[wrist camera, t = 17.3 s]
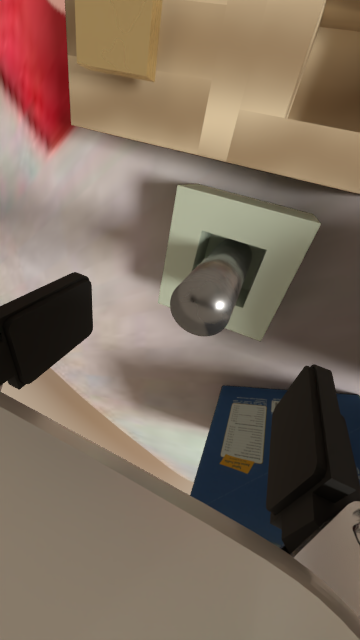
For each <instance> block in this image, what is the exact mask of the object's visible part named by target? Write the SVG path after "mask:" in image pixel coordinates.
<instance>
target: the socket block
mask: <svg viewBox="0 0 360 640" xmlns="http://www.w3.org/2000/svg"><path fill="white" fill-rule="evenodd" d="M65 11H66V31H67V51H68V71H69V91H70V111H71V125H74V126H78V127H82V128H86V129H90V130H94V131H98V132H102V133H106V134H110V135H114V136H118V137H122V138H127V139H131V140H135V141H139V142H143V143H147V144H152V145H156V146H160V147H164V148H168V149H172V150H177V151H181V152H185V153H189V154H193V155H197V156H202V157H206V158H210V159H214V160H218V161H222V162H227V163H231V164H235V165H239V166H243V167H247V168H252V169H256V170H260V171H264V172H268V173H272V174H277V175H281V176H285V177H289V178H293V179H297V180H302V181H306V182H310V183H314V184H318V185H322V186H327V187H331V188H335V189H339V190H343V191H347V192H352V193H356V194H360V0H163V2H162V12H161V22H160V32H159V43H158V53H157V63H156V73H155V82H150V81H145V80H140V79H134V78H129V77H123V76H118V75H113V74H107V73H102V72H96V71H91V70H88V69H86V68H84V67H82V66H80V65H79V64H77V52H76V23H75V0H65Z"/></svg>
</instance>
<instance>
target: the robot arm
mask: <svg viewBox="0 0 360 640" xmlns="http://www.w3.org/2000/svg"><path fill="white" fill-rule="evenodd" d="M92 330H93V318H92V288H91V282H90V281H89V278H88V277H87V276H84V275H82V274H79V273H76V272H74V273H71V274H69V275H67V276H65V277H62V278H60V279H58V280H56V281H54V282H52V283H49V284H47V285H45V286H43V287H41V288H39V289H36V290H34V291H32V292H30V293H28V294H26V295H24V296H21V297H19V298H17V299H15V300H13V301H11V302H8V303H6V304H4V305H2V306H0V640H360V483H359V478H358V474H357V469H356V465H355V461H354V456H353V452H352V447H351V443H350V438H349V434H348V429H347V425H346V421H345V418H344V417H343V416H342V415H341V414H340V409H339V404H338V400H337V395H336V390H335V385H334V381H333V376H332V372H331V371H330V370H328V369H325V368H322V367H320V366H317V365H315V364H314V365H312V366H311V367H309V366H305V367H304V368H303V370H302V371H301V372H300V374H299V375H298V377H297V378H296V379H295V381H294V382H293V384H292V385H291V386H290V388H289V389H288V390H287V392H286V393H285V395H284V396H283V397H282V399H281V400H280V402H279V403H278V404H277V406H276V407H275V409H274V411H273V415H272V425H271V439H270V453H269V467H268V482H267V496H266V509H267V510H268V511H270V512H271V514H270V524H272V525H274V526H276V527H278V528H279V529H281V530H282V541H283V543H284V544H282V545H281V546H280V547H279V548H278V547H277V546H275V545H274V544H272V543H271V542H269V541H267V540H266V539H264V538H263V537H261V536H260V535H258V534H256V533H255V532H253V531H251V530H249V529H248V528H246V527H244V526H242V525H241V524H239V523H237V522H236V521H234V520H232V519H230V518H229V517H227V516H225V515H223V514H222V513H220V512H218V511H216V510H215V509H213V508H211V507H209V506H208V505H206V504H204V503H203V502H201V501H199V500H197V499H195V498H193V497H192V496H190V495H188V494H186V493H184V492H182V491H181V490H179V489H177V488H175V487H174V486H172V485H170V484H168V483H166V482H164V481H163V480H161V479H159V478H157V477H155V476H153V475H152V474H150V473H148V472H146V471H145V470H143V469H141V468H139V467H137V466H136V465H133V464H132V463H130V462H128V461H127V460H125V459H123V458H121V457H119V456H117V455H116V454H114V453H112V452H110V451H108V450H107V449H105V448H103V447H101V446H99V445H97V444H96V443H94V442H92V441H90V440H88V439H86V438H85V437H83V436H81V435H79V434H77V433H75V432H74V431H72V430H70V429H68V428H66V427H64V426H63V425H61V424H59V423H57V422H55V421H53V420H52V419H50V418H48V417H46V416H44V415H42V414H41V413H39V412H37V411H35V410H33V409H31V408H29V407H27V406H26V405H24V404H22V403H20V402H18V401H16V400H15V399H13V398H11V397H9V396H7V395H5V394H4V393H2V392H1V389H2V385H3V383H5V382H6V381H8V383H9V384H10V385H12V386H13V387H15V388H18V389H21V388H22V387H23V386H24V385H26V384H30V383H31V382H33V381H34V380H35V379H37V378H38V377H39V376H40V375H41V374H43V373H44V372H45V371H46V370H48V369H49V368H50V367H51V366H53V365H54V364H55V363H56V362H57V361H59V360H60V359H61V358H62V357H64V356H65V355H66V354H67V353H68V352H70V351H71V350H72V349H73V348H75V347H76V346H77V345H78V344H80V343H81V342H82V341H83V340H84V339H86V338H87V337H88V336H89V335H90V334H91V333H92Z"/></svg>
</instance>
